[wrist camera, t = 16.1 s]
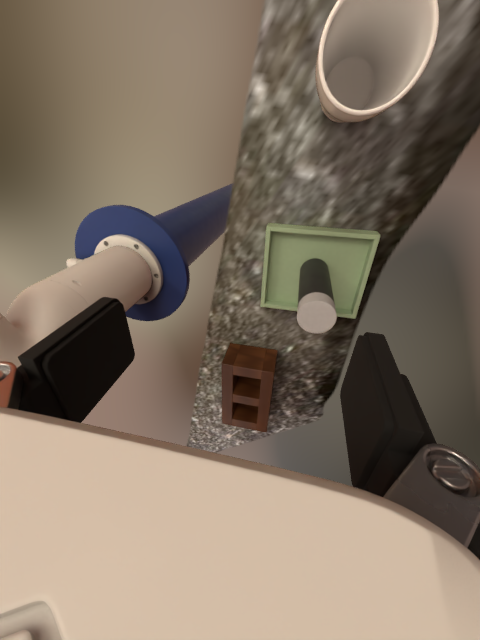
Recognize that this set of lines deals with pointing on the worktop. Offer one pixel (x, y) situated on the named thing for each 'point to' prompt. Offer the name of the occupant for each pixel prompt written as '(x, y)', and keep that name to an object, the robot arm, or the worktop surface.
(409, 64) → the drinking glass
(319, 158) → the worktop surface
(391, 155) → the worktop surface
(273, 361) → the holder
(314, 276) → the tool handle
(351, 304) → the tray
